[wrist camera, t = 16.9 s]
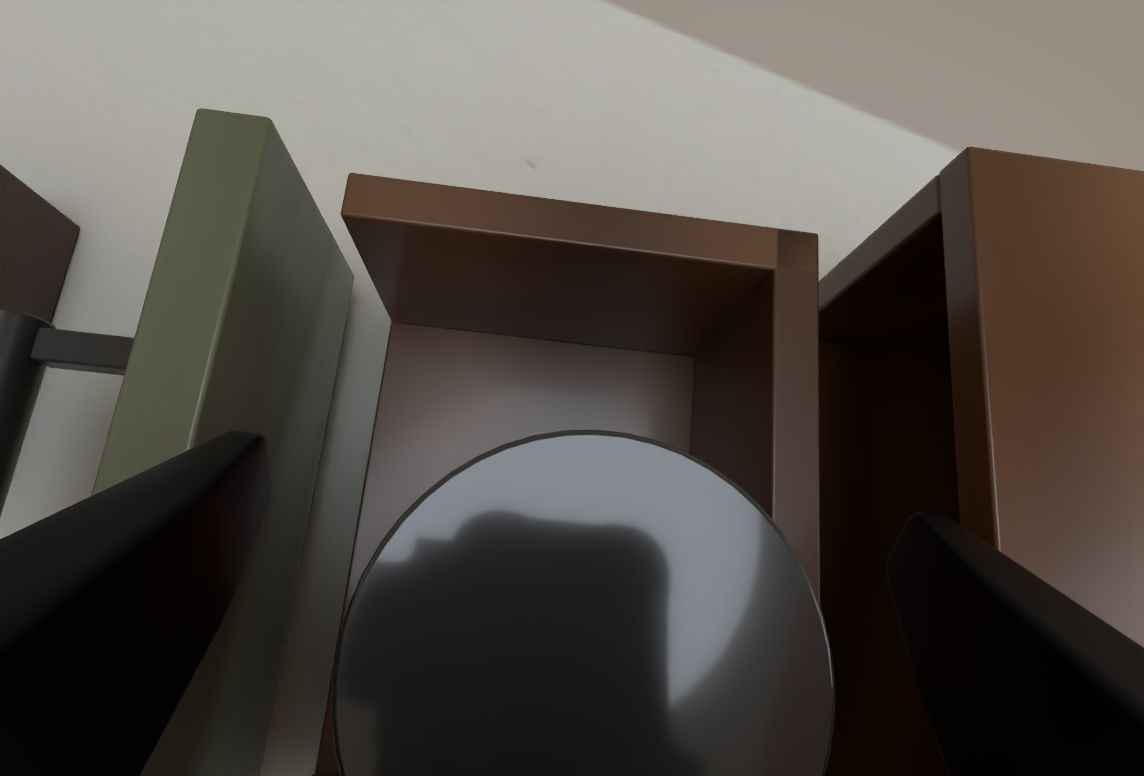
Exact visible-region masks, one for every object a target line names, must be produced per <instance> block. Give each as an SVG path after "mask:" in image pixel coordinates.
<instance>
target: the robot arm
mask: <svg viewBox="0 0 1144 776" xmlns="http://www.w3.org/2000/svg"><path fill="white" fill-rule="evenodd" d="M272 490H273V486H272V475H271V466H270V456H269V446H268V442H267V440H266V438H265V437H264V436H263V435H262V434H259V433H250V432H242V431H228V432H225V433H223V434H221V435H219V436H217V437H215V438H213V439H211V440H208V441H206V442H204V443H202V444H200V445H198V446H196V447H194V448H192V449H190V450H187V451H185V452H183V453H181V454H179V455H177V456H175V457H173V458H171V459H169V460H166V461H164V462H162V463H160V464H158V465H156V466H154V467H152V468H150V469H147V470H145V471H143V472H141V473H139V474H137V475H135V476H133V477H131V478H129V479H126V480H124V481H122V482H120V483H118V484H116V485H114V486H112V487H110V488H108V489H105V490H103V491H101V492H99V493H97V494H95V495H93V496H91V497H89V498H87V499H84V500H82V501H80V502H78V503H76V504H74V505H72V506H70V507H68V508H65V509H63V510H61V511H59V512H57V513H55V514H53V515H51V516H49V517H47V518H44V519H42V520H40V521H38V522H36V523H34V524H32V525H30V526H28V527H25V528H23V529H21V530H19V531H17V532H15V533H13V534H11V535H9V536H7V537H4V538H2V539H0V776H140V775H141V773H142V771H143V769H144V767H145V766H146V764H147V762H148V760H149V758H150V756H151V754H152V753H153V751H154V749H155V747H156V745H157V743H158V741H159V739H160V738H161V736H162V734H163V732H164V730H165V728H166V726H167V725H168V723H169V721H170V719H171V717H172V715H173V713H174V711H175V710H176V708H177V706H178V704H179V702H180V700H181V698H182V697H183V695H184V693H185V691H186V689H187V687H188V685H189V683H190V682H191V680H192V678H193V676H194V674H195V672H196V670H197V669H198V667H199V665H200V663H201V661H202V659H203V657H204V655H205V654H206V652H207V650H208V648H209V646H210V644H211V642H212V641H213V639H214V637H215V635H216V633H217V631H218V629H219V627H220V625H221V623H222V621H223V619H224V617H225V615H226V613H227V611H228V609H229V606H230V604H231V602H232V599H233V597H234V595H235V592H236V589H237V587H238V584H239V582H240V579H241V577H242V574H243V572H244V569H245V567H246V564H247V562H248V559H249V557H250V554H251V551H252V549H253V546H254V544H255V541H256V539H257V536H258V534H259V531H260V529H261V526H262V524H263V521H264V519H265V516H266V513H267V511H268V508H269V506H270V502H271V498H272ZM886 575H887V580H888V583H889V587H890V591H891V595H892V599H893V603H894V606H895V610H896V614H897V618H898V622H899V626H900V630H901V633H902V637H903V641H904V645H905V649H906V653H907V656H908V660H909V664H910V668H911V671H912V674H913V678H914V681H915V684H916V687H917V690H918V693H919V696H920V699H921V702H922V704H923V707H924V710H925V712H926V715H927V718H928V720H929V723H930V726H931V728H932V731H933V734H934V737H935V739H936V742H937V745H938V747H939V750H940V753H941V755H942V758H943V761H944V763H945V766H946V769H947V771H948V774H949V776H1144V647H1142V646H1141V645H1139V644H1138V643H1136V642H1135V641H1133V640H1132V639H1130V638H1129V637H1127V636H1126V635H1124V634H1123V633H1121V632H1120V631H1118V630H1117V629H1115V628H1114V627H1112V626H1111V625H1109V624H1108V623H1106V622H1105V621H1103V620H1102V619H1100V618H1099V617H1097V616H1096V615H1094V614H1093V613H1091V612H1090V611H1088V610H1087V609H1085V608H1084V607H1082V606H1081V605H1079V604H1078V603H1076V602H1075V601H1073V600H1072V599H1070V598H1069V597H1067V596H1066V595H1064V594H1063V593H1061V592H1060V591H1058V590H1057V589H1055V588H1054V587H1052V586H1051V585H1049V584H1048V583H1046V582H1045V581H1044V580H1042V579H1041V578H1039V577H1038V576H1036V575H1035V574H1033V573H1032V572H1030V571H1029V570H1027V569H1026V568H1024V567H1023V566H1021V565H1020V564H1018V563H1017V562H1015V561H1014V560H1012V559H1011V558H1009V557H1008V556H1006V555H1005V554H1003V553H1002V552H1000V551H999V550H997V549H996V548H994V547H993V546H991V545H990V544H988V543H987V542H985V541H984V540H982V539H981V538H979V537H978V536H976V535H975V534H973V533H972V532H970V531H969V530H967V529H966V528H964V527H963V526H961V525H960V524H958V523H957V522H955V521H954V520H952V519H951V518H949V517H947V516H944V515H939V514H930V513H922V512H917V513H913V514H912V515H911V516H909V517H908V519H907V520H906V522H905V524H904V526H903V528H902V530H901V532H900V534H899V536H898V538H897V539H896V541H895V543H894V545H893V547H892V549H891V551H890V553H889V555H888V558H887V562H886Z"/></svg>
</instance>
